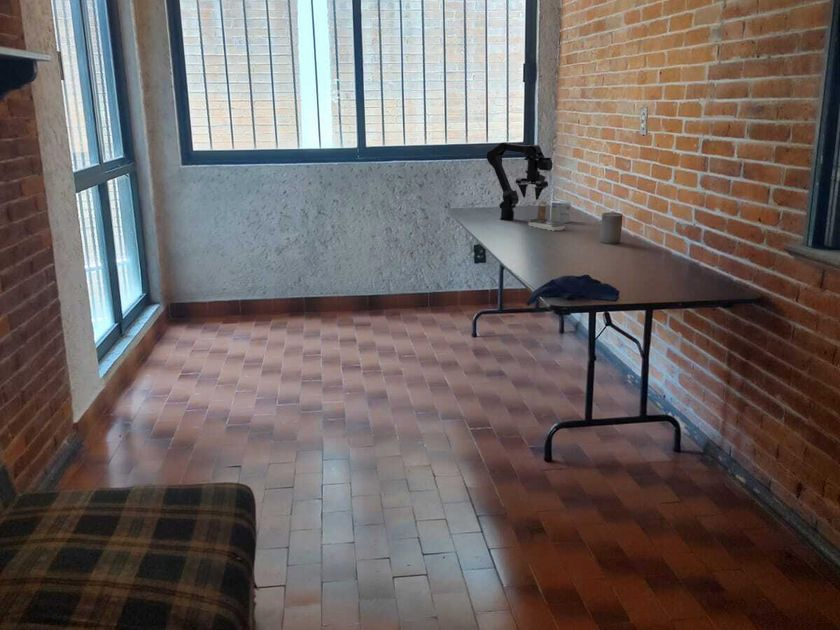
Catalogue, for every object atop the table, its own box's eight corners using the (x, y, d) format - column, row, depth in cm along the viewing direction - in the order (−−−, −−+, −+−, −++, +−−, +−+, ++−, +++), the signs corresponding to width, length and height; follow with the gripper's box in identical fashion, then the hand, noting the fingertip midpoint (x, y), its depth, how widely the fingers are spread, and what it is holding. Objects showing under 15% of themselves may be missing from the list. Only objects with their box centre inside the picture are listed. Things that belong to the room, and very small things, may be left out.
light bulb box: (568, 220, 420) (570, 201, 417) (569, 222, 414) (571, 203, 410) (549, 219, 421) (550, 200, 418) (549, 222, 415) (551, 202, 411)
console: (528, 225, 401) (529, 218, 399) (540, 224, 406) (540, 217, 405) (552, 231, 388) (553, 223, 387) (564, 229, 394) (565, 222, 392)
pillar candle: (620, 241, 368) (623, 210, 363) (620, 244, 358) (623, 213, 354) (599, 239, 370) (602, 209, 366) (599, 243, 361) (601, 212, 356)
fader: (535, 221, 399) (536, 201, 396) (541, 221, 402) (543, 201, 399) (540, 222, 396) (541, 202, 393) (546, 222, 400) (548, 201, 396)
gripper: (556, 170, 400) (553, 199, 405) (530, 166, 414) (528, 195, 418) (541, 171, 393) (539, 201, 398) (515, 167, 407) (514, 196, 412)
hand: (530, 198), depth 407 cm, fingers open, 9 cm apart
